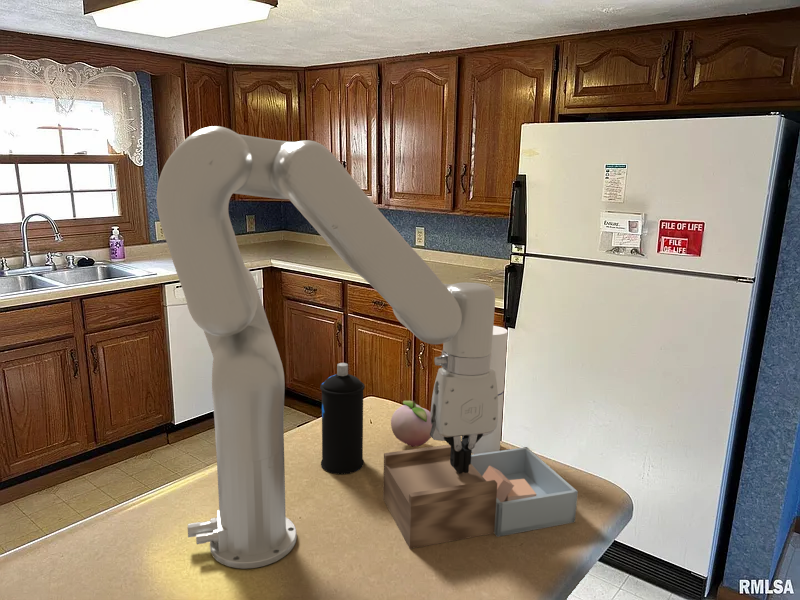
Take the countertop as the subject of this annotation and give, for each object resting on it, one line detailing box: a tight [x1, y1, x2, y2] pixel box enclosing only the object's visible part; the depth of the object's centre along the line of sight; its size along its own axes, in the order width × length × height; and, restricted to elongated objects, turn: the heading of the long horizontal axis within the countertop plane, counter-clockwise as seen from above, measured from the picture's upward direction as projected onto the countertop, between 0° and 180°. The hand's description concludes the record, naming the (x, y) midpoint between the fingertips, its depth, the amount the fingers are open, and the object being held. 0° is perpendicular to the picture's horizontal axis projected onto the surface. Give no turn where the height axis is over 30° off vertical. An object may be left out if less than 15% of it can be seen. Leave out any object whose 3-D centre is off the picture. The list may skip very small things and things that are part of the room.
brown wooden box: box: [382, 444, 497, 550], centre depth 95 cm, size 14×14×9 cm
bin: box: [471, 446, 579, 538], centre depth 100 cm, size 14×16×6 cm
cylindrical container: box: [471, 325, 508, 455], centre depth 118 cm, size 7×7×25 cm
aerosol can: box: [319, 362, 366, 475], centre depth 110 cm, size 8×8×20 cm
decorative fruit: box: [390, 400, 432, 448], centre depth 119 cm, size 9×8×10 cm
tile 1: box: [482, 465, 514, 502], centre depth 98 cm, size 5×5×2 cm
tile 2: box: [504, 479, 536, 502], centre depth 99 cm, size 5×5×2 cm
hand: (459, 469), depth 96 cm, fingers closed
